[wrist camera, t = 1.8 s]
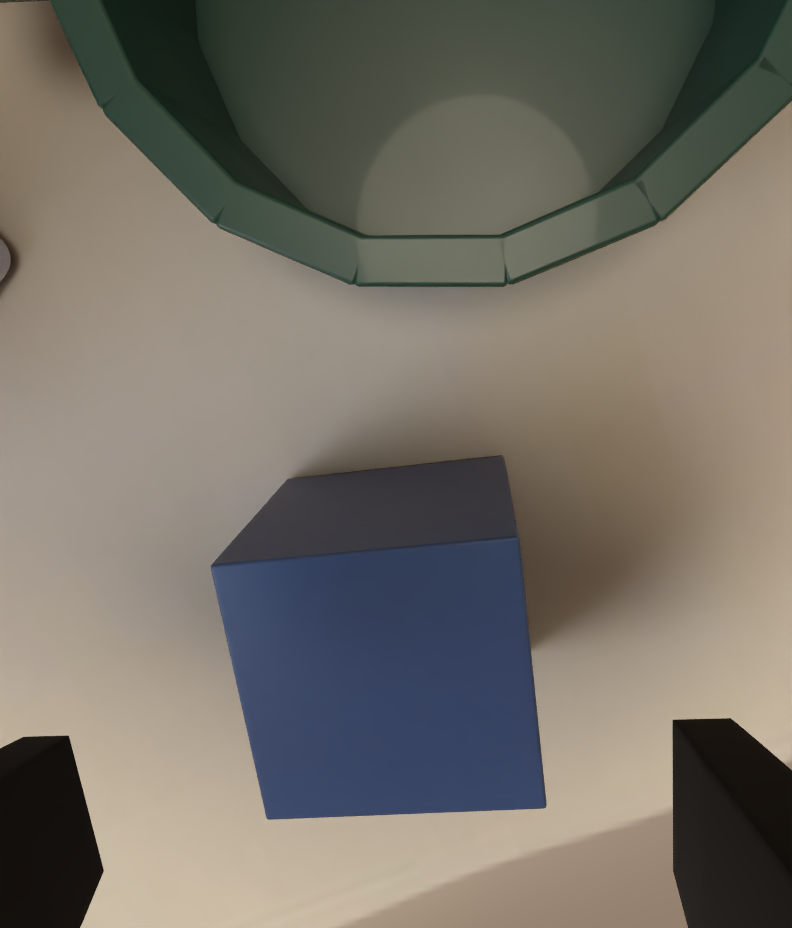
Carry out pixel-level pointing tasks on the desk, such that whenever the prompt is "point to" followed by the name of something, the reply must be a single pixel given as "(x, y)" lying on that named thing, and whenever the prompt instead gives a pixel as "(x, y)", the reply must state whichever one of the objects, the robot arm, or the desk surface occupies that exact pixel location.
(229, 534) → the desk surface
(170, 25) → the pot
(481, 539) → the block
